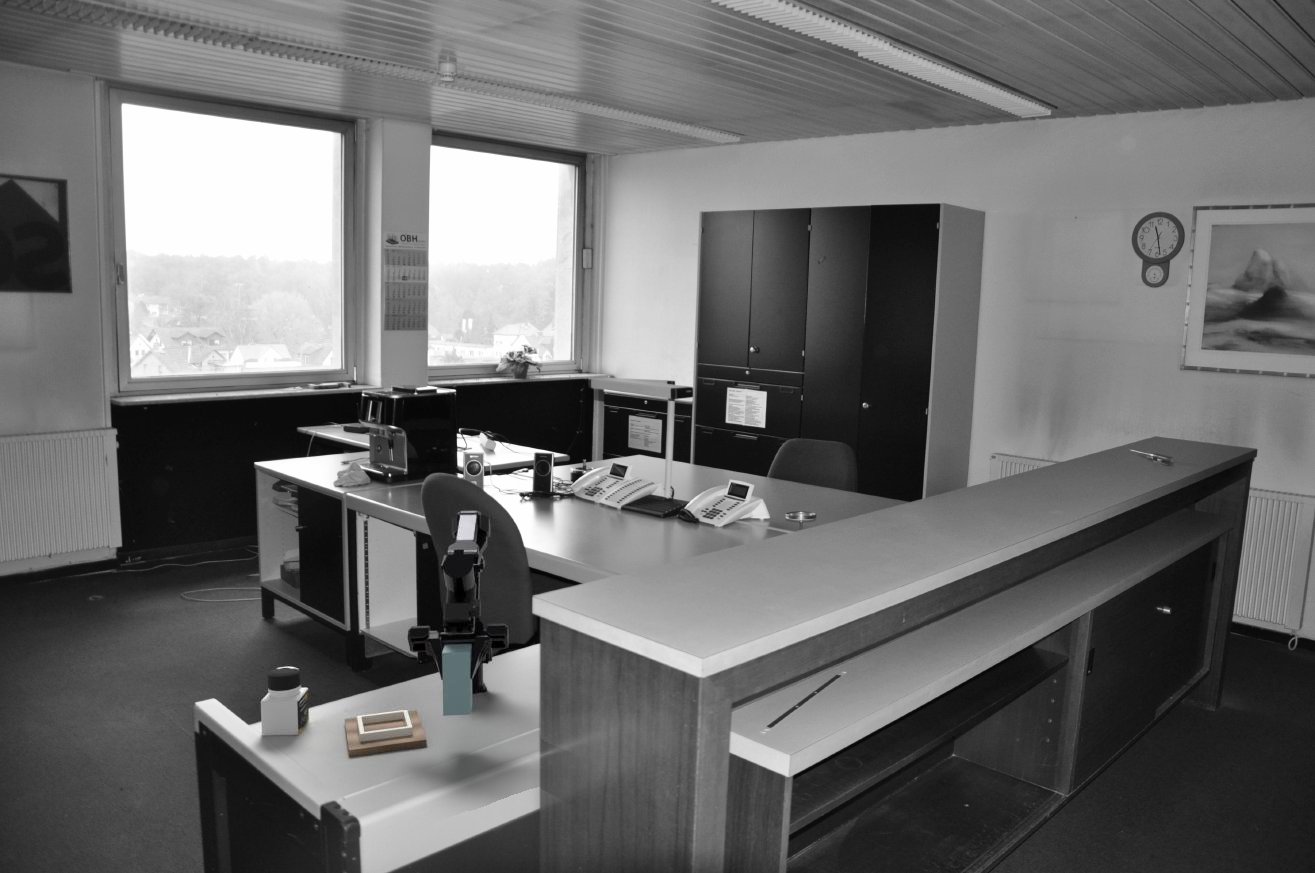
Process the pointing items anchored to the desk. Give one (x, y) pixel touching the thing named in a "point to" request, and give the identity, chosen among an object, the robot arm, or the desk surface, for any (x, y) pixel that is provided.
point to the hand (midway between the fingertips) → (456, 678)
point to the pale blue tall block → (457, 679)
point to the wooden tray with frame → (384, 732)
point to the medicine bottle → (284, 703)
